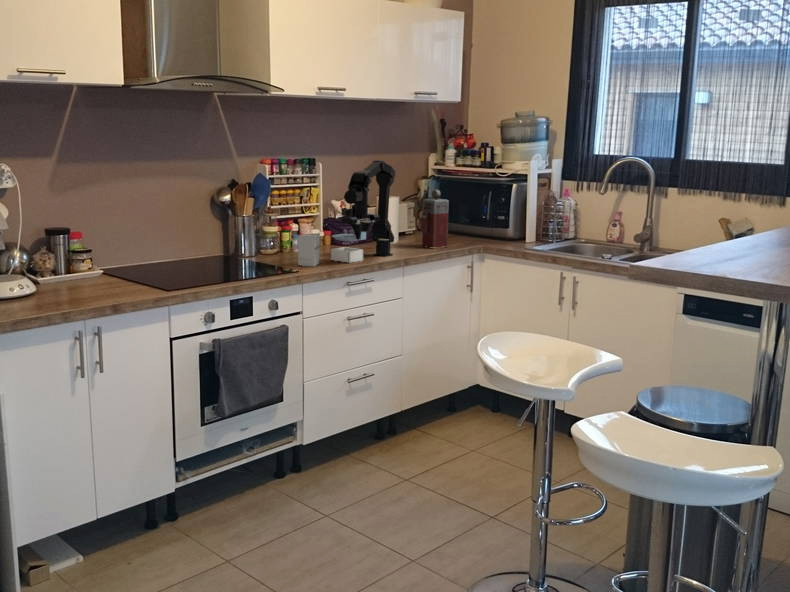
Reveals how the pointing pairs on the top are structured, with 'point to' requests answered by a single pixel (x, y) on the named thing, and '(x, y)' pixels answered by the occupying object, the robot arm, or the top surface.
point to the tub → (347, 254)
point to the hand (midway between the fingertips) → (360, 239)
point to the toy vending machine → (435, 221)
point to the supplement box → (308, 249)
